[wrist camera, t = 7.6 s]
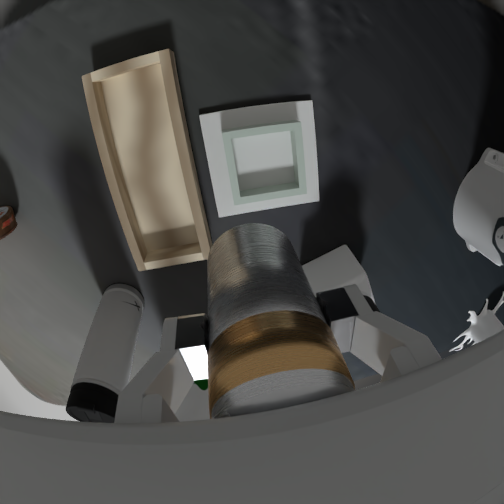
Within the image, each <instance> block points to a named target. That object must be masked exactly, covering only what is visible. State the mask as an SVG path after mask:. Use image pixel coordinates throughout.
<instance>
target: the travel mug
mask: <svg viewBox="0 0 504 504" xmlns="http://www.w3.org/2000/svg"><path fill="white" fill-rule="evenodd" d="M144 304H145V303H144V299H143V297H142V295H141V294H140V293H139V292H138V290H136V289H135V288H133V287H132V286H129V285H127V284H113V285H111V286H109V287H108V288H107V289H106V290H105V292H104V294H103V297H102V299H101V302H100V304H99V307H98V309H97V312H96V314H95V317H94V320H93V322H92V325H91V328H90V331H89V333H88V336H87V339H86V342H85V345H84V348H83V351H82V354H81V357H80V360H79V363H78V366H77V369H76V373H75V376H74V379H73V383H72V386H71V391H70V395H69V398H68V402H67V406H66V411H67V413H68V414H69V415H70V416H71V417H73V418H74V419H76V420H78V421H80V422H94V423H114V421H115V414H116V408H117V402H118V396H119V394H120V393H121V392H122V390H123V389H124V388H125V387H126V386H127V385H128V384H129V379H130V373H131V368H132V362H133V357H134V352H135V347H136V342H137V337H138V333H139V328H140V323H141V319H142V314H143V310H144Z"/></svg>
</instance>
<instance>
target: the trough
mask: <svg viewBox="0 0 504 504" xmlns="http://www.w3.org/2000/svg"><path fill="white" fill-rule="evenodd" d="M82 81H83V86H84V91H85V96H86V101H87V106H88V110H89V114H90V119H91V123H92V127H93V131H94V135H95V139H96V143H97V147H98V151H99V154H100V158H101V162H102V165H103V169H104V172H105V176H106V179H107V182H108V185H109V189H110V192H111V195H112V198H113V201H114V204H115V207H116V210H117V213H118V216H119V219H120V222H121V225H122V228H123V231H124V234H125V236H126V239H127V242H128V245H129V247H130V250H131V253H132V255H133V258H134V260H135V263H136V266H137V268H138V271H144V270H149V269H155V268H161V267H166V266H172V265H178V264H183V263H189V262H194V261H200V260H206V259H208V255H209V252H210V250H211V247H212V240H211V236H210V231H209V227H208V222H207V218H206V214H205V209H204V205H203V200H202V196H201V191H200V186H199V182H198V177H197V172H196V167H195V163H194V158H193V153H192V148H191V143H190V138H189V133H188V128H187V123H186V118H185V112H184V107H183V102H182V96H181V91H180V85H179V80H178V74H177V69H176V63H175V57H174V52H173V51H171V50H170V49H165V50H161V51H157V52H154V53H150V54H146V55H143V56H139V57H136V58H132V59H129V60H126V61H123V62H120V63H117V64H114V65H111V66H108V67H105V68H102V69H99V70H97V71H94V72H91V73H89V74H86V75H84V76H82Z"/></svg>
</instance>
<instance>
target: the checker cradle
mask: <svg viewBox="0 0 504 504" xmlns="http://www.w3.org/2000/svg"><path fill="white" fill-rule="evenodd" d="M199 117H200V123H201V128H202V133H203V139H204V144H205V149H206V155H207V160H208V165H209V170H210V175H211V180H212V185H213V190H214V195H215V200H216V205H217V210H218V215H219V217H225V216H230V215H236V214H242V213H247V212H253V211H259V210H265V209H271V208H277V207H283V206H290V205H296V204H303V203H309V202H316V201H319V183H318V165H317V150H316V137H315V125H314V114H313V103H312V100H305V101H293V102H282V103H273V104H265V105H257V106H249V107H242V108H236V109H229V110H223V111H218V112H212V113H207V114H201V115H199Z"/></svg>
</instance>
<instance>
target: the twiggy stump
mask: <svg viewBox="0 0 504 504" xmlns="http://www.w3.org/2000/svg"><path fill="white" fill-rule="evenodd" d="M503 297H504V292H503V295H502V298H501V299H500V301H499V303H498V304H497V305H496V307H495V308H494V309H493V310H492V311H491V310H487V305H488V299H486V304H485V306H484V308H483V310H482V312H481V313H480V314H479V315H478V316H477V315H476V313H475V312H474V311H469V313H470V314H471V317H470V318H469V319H468V320H467V321H471V326H470V327H469V328H468V329H467V330H466V331H465V332H463V333H462V334H461V335H460V336H458V337H457V338H456V339H455V340H457V339H458V338H459V337H461V336H463V335H466V337H465V339H464V341H463V342H462V343H461V344H460V345H458V346H457V347H455V348H453V349H451V350H450V351H449V352H451V351H452V350H454V349H456V348H460V347H461V348H460V349H458V350H455V351H459V350H461V349H462V348H463V344H464V343H465V342H466V340H468V339H469V338H471V340H470V342H471V341H472V339H473V340H474V341H475V342H474V344H475V343H476V344H477V343H479V342H481V341H483V340H485V339H486V338H488V337H490V336H492V335H494V334H496V333H498V332H500V331H502V330H503V329H504V326H503V325H502V323H501V322H500V321H499V320H498V318H497V317H496V316H495V315H494V314H495V312H496V311H497V309H498V308H499V306H500V305H501V304H502V303H503V302H504V301H502V300H503ZM455 340H454V341H455ZM454 341H453V342H454ZM470 342H468V343H467V344H469V343H470ZM474 344H472V345H474Z"/></svg>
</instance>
